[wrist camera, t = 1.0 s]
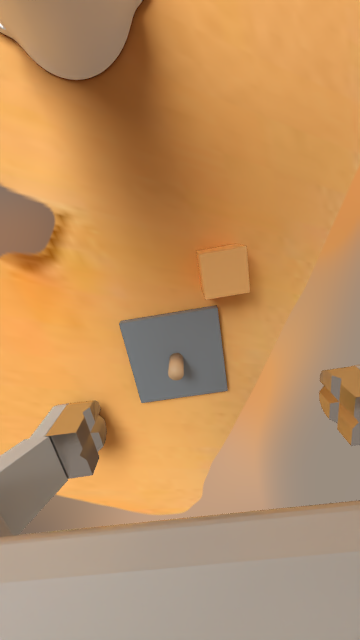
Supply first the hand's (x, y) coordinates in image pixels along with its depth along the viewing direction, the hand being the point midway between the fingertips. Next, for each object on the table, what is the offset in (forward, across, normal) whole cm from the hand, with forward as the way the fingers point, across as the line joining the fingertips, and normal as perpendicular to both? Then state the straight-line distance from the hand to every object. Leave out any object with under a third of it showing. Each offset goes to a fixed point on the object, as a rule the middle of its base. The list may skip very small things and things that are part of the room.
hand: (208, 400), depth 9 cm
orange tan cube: (+30, -5, 0) cm, 30 cm away
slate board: (+30, +4, +14) cm, 33 cm away
